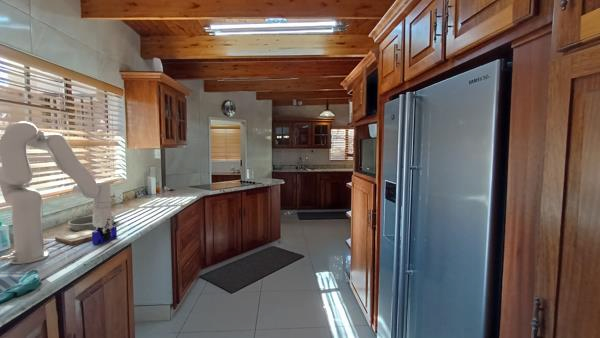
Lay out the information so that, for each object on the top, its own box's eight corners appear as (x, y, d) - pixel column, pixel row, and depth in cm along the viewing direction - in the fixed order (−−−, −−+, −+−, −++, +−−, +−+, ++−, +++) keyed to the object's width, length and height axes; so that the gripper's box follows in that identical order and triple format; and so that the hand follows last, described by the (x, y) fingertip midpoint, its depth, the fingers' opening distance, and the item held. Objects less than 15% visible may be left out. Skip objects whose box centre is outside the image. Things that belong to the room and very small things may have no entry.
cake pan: (76, 234, 170) (75, 226, 170) (62, 227, 185) (62, 220, 185) (123, 225, 190) (122, 218, 189) (107, 219, 205) (106, 212, 204)
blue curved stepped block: (109, 236, 164) (109, 226, 164) (116, 237, 163) (116, 226, 163) (90, 243, 152) (89, 231, 152) (97, 244, 151) (96, 232, 151)
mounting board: (71, 245, 151) (71, 241, 150) (55, 240, 158) (55, 236, 158) (104, 236, 165) (104, 232, 165) (88, 232, 172) (88, 229, 172)
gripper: (85, 204, 157) (86, 238, 158) (104, 207, 149) (105, 243, 150) (100, 202, 164) (101, 235, 165) (119, 205, 156) (120, 239, 157)
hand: (103, 238), depth 157 cm, fingers closed on blue curved stepped block, 5 cm apart
